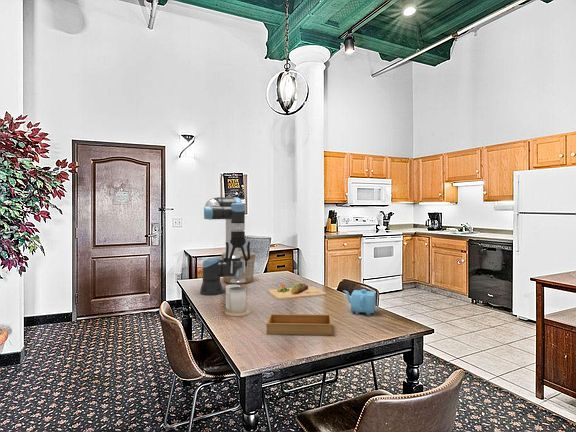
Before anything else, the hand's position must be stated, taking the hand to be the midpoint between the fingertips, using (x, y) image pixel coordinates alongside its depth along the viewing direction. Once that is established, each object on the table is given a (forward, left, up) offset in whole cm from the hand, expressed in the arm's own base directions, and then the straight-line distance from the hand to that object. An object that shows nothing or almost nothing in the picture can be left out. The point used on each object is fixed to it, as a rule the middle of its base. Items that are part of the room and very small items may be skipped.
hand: (237, 272), depth 202 cm
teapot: (+14, +66, -23) cm, 71 cm away
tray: (+34, +26, -23) cm, 49 cm away
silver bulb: (0, 0, -5) cm, 5 cm away
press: (0, 0, -22) cm, 22 cm away
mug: (-19, +1, -23) cm, 30 cm away
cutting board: (-35, +44, -23) cm, 61 cm away
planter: (-82, +10, -23) cm, 86 cm away
